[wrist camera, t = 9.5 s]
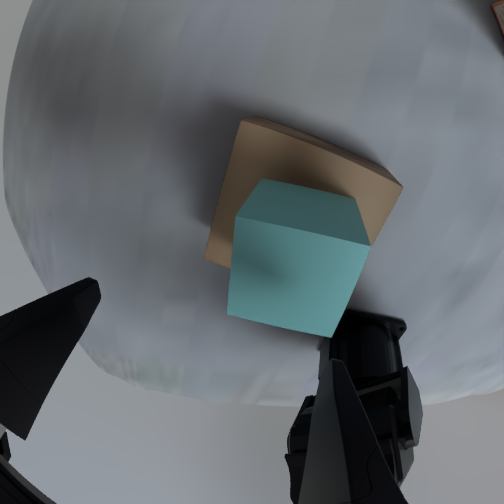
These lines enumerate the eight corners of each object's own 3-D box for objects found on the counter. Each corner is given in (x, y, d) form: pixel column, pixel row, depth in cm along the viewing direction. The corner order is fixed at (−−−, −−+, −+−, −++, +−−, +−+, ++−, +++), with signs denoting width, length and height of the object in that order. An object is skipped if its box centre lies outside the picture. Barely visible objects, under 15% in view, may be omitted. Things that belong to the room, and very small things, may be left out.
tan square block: (386, 169, 16) (403, 187, 12) (331, 273, 21) (332, 307, 17) (257, 115, 16) (240, 120, 13) (223, 230, 21) (203, 258, 18)
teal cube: (355, 198, 13) (371, 246, 9) (331, 275, 16) (331, 337, 12) (261, 178, 14) (235, 216, 10) (250, 257, 17) (226, 314, 12)
